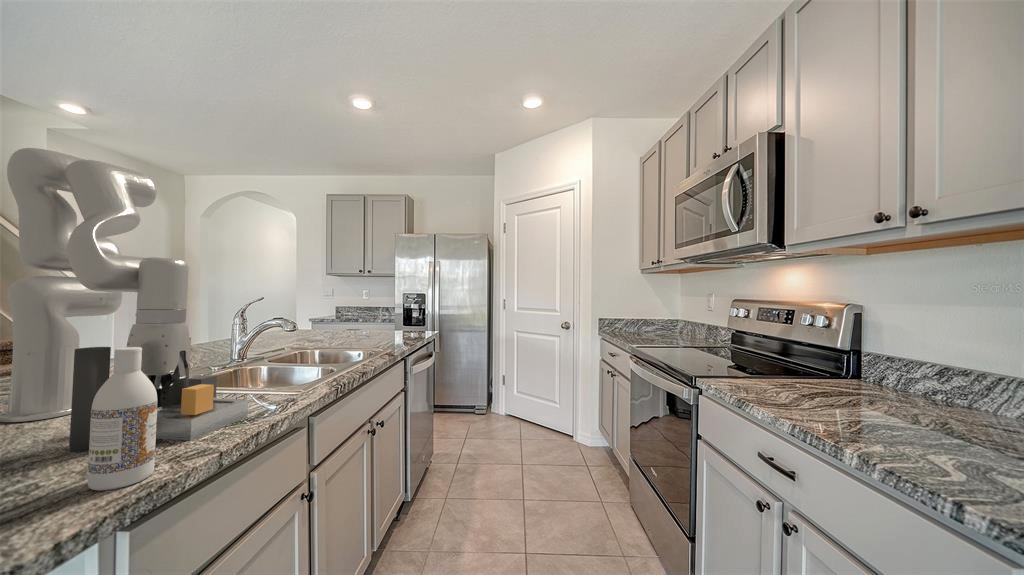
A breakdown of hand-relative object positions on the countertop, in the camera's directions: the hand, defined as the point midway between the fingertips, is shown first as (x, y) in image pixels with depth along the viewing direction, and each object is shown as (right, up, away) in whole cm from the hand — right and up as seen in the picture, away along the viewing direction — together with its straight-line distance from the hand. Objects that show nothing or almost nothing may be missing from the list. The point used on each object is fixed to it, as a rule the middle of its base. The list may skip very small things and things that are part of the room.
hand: (157, 406), depth 75 cm
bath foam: (+14, -5, -20) cm, 25 cm away
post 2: (-4, -5, +9) cm, 11 cm away
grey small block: (+3, -1, +8) cm, 8 cm away
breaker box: (+5, -5, +3) cm, 8 cm away
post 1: (-5, -5, -8) cm, 11 cm away
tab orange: (+9, -1, -1) cm, 9 cm away
